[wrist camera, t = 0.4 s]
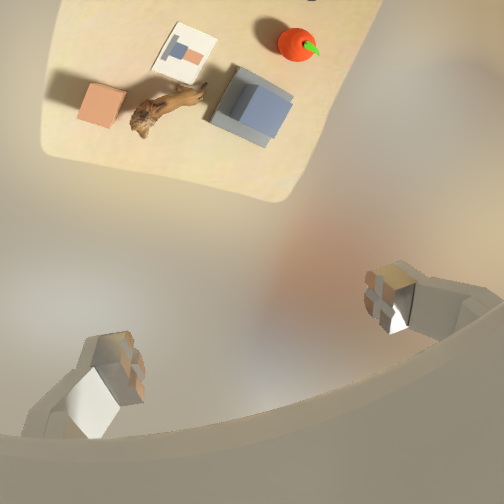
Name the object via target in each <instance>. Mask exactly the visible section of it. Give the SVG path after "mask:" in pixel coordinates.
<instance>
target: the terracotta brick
mask: <svg viewBox="0 0 504 504" xmlns="http://www.w3.org/2000/svg"><path fill="white" fill-rule="evenodd" d="M126 94H127V92H125V91H122V90H119V89H116V88H113V87H110V86H106V85H103V84H100V83H90V85H89V88H88V90H87V92H86V95H85V97H84V100H83V102H82V105H81V108H80V110H79V113H78V116H77V119H80V120H83V121H87V122H90V123H93V124H96V125H100V126H103V127H106V128H110V127H111V126H112V124H113V123H114V122H115V120H116V117H117V115H118V113H119V110H120V108H121V106H122V103H123V101H124V99H125V96H126Z"/></svg>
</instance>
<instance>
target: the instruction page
mask: <svg viewBox="0 0 504 504" xmlns="http://www.w3.org/2000/svg"><path fill="white" fill-rule="evenodd" d="M217 40H218V39H216V38H214V37H212V36H209V35H207V34H205V33H203V32H200V31H198V30H196V29H194V28H191V27H189V26H186V25H184V24H181V23H179V22H178V23H177V25H176V26H175V28H174V30H173V31H172V33H171V35H170V36H169V38H168V40H167V42H166V43H165V45H164V47H163V49H162V51H161V52H160V54H159V56H158V58H157V60H156V62H155V64H154V66H153V67H152V69H151V70H153V71H156V72H158V73H161V74H164V75H166V76H169V77H171V78H174V79H176V80H179V81H181V82H184V83H186V84H189V85H191V86H192V85H193V83H194V81H195V79H196V77H197V75H198V73H199V72H200V70H201V68H202V66H203V64H204V62H205V61H206V59H207V57H208V55H209V54H210V52H211V50H212V49H213V47H214V45H215V43H216V42H217Z"/></svg>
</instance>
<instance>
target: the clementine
mask: <svg viewBox="0 0 504 504" xmlns="http://www.w3.org/2000/svg"><path fill="white" fill-rule="evenodd" d="M278 48H279V51H280V53H281V54H282V55H283V56H284V57H285V58H286V59H288V60H291V61H295V62H301V61H305V60H307V59H309V58H310V57H311V56H312V55H313V54H314V53H316V54H318V55H320V53H319V51H318V49H317V48H316V43H315V40H314V38H313V36H312V35H311V34H310V33H309V32H307V31H306V30H303V29H300V28H291V29H288V30H286V31H285V32H283V33H282V34H281V36H280V37H279V40H278Z"/></svg>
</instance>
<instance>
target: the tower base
mask: <svg viewBox="0 0 504 504" xmlns="http://www.w3.org/2000/svg"><path fill="white" fill-rule="evenodd" d="M293 97H294V96H292V95H291V94H289V93H287V92H286V91H284V90H282V89H281V88H279V87H277V86H276V85H274V84H272V83H270V82H269V81H267V80H265V79H263V78H261V77H260V76H258V75H256V74H254V73H252V72H250V71H248V70H247V69H245V68H243V67H238V69H237V70H236V72H235V74H234V76H233V77H232V79H231V81H230V83H229V85H228V87H227V88H226V90H225V92H224V94H223V96H222V98H221V100H220V101H219V103H218V105H217V107H216V109H215V111H214V113H213V115H212V117H211V119H210V121H209V123H211V124H213V125H215V126H217V127H220V128H222V129H224V130H227V131H229V132H231V133H233V134H235V135H238V136H240V137H242V138H244V139H246V140H248V141H250V142H253V143H255V144H257V145H259V146H261V147H263V148H266V146H267V144H268V142H269V140H270V139H271V137H272V138H275V136H276V134H277V132H278V130H279V129H280V127H281V125H282V123H283V121H284V120H285V118H286V116H287V114H288V112H289V110H290V109H291V107H292V105H293V104H292V103H290V102H291V100H292V98H293Z"/></svg>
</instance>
